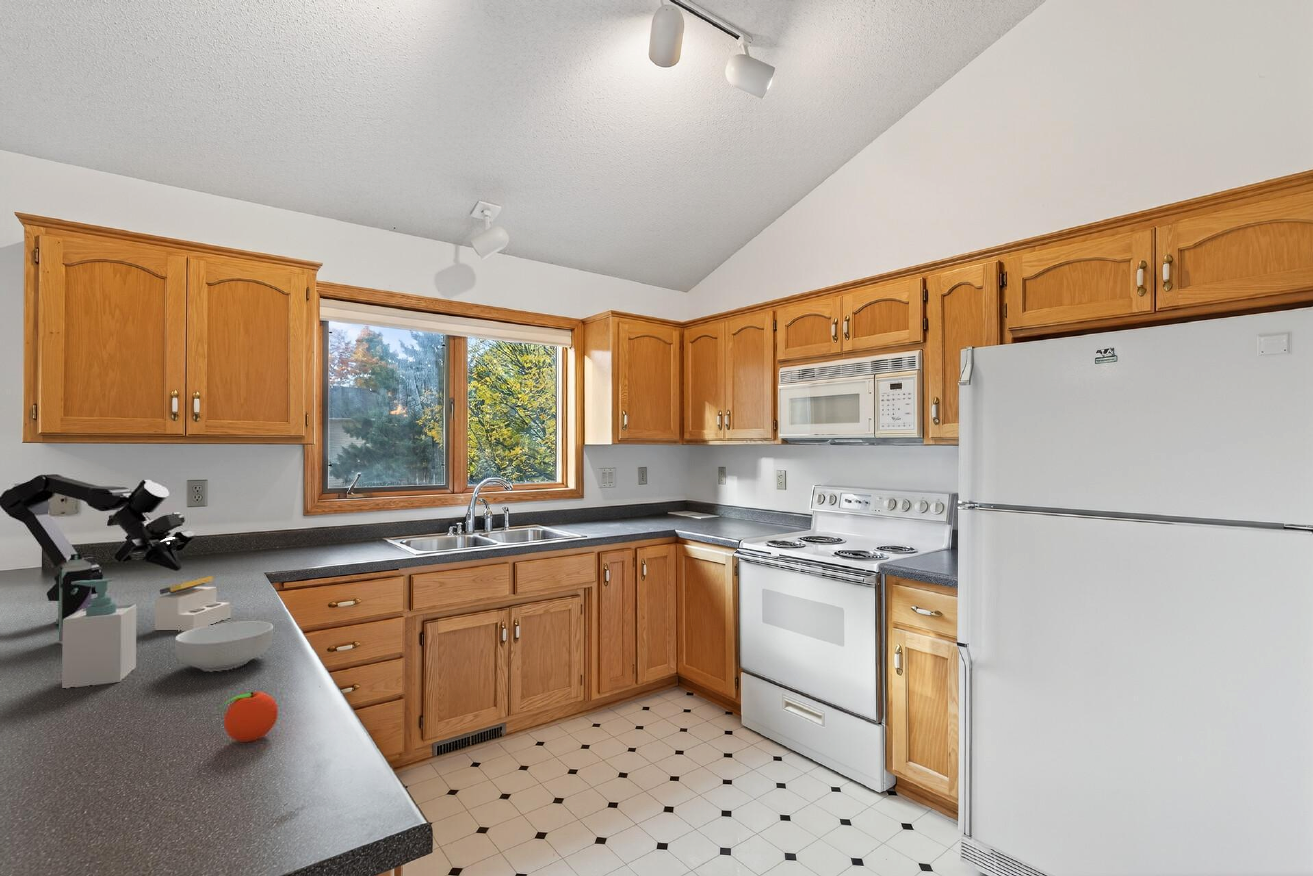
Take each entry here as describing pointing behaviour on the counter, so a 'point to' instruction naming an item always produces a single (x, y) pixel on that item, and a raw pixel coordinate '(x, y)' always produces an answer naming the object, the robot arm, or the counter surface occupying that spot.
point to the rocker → (186, 585)
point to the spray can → (73, 588)
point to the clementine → (250, 716)
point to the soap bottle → (98, 641)
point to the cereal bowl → (223, 644)
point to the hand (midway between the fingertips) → (179, 569)
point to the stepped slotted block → (190, 609)
